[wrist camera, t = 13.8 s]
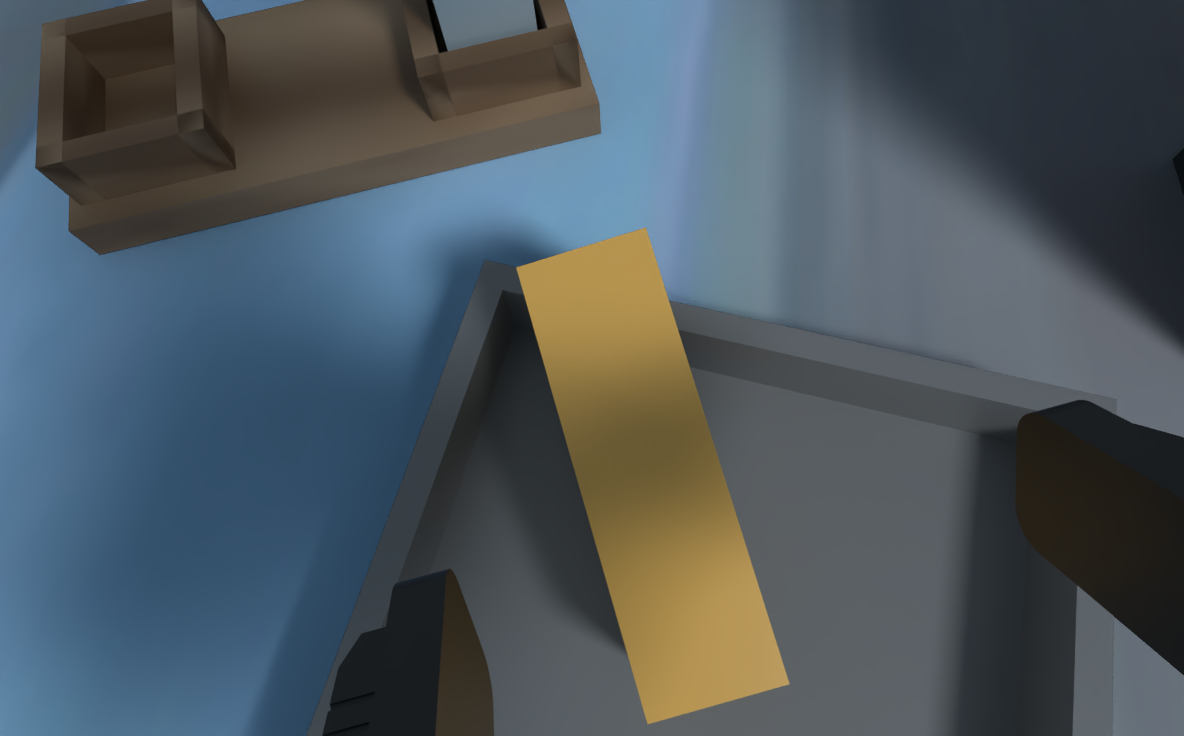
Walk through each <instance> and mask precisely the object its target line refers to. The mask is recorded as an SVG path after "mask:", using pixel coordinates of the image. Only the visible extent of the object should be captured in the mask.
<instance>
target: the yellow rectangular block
mask: <svg viewBox="0 0 1184 736" xmlns="http://www.w3.org/2000/svg"><path fill="white" fill-rule="evenodd" d="M516 268H517V272H518V275H519V279H520V282H521V286H522V289H523V293H524V296H525V300H526V303H527V307H528V310H529V314H530V317H531V321H532V324H533V328H534V331H535V335H536V338H537V341H538V345H539V348H540V352H541V355H542V359H543V362H544V366H545V369H546V373H547V376H548V380H549V383H550V387H551V390H552V394H553V397H554V401H555V404H556V408H557V411H558V414H559V418H560V421H561V425H562V428H563V432H564V435H565V439H566V442H567V446H568V449H569V453H570V456H571V460H572V463H573V467H574V470H575V474H576V477H577V481H578V484H579V488H580V491H581V494H582V498H583V501H584V505H585V508H586V512H587V515H588V519H589V522H590V526H591V529H592V533H593V536H594V540H595V543H596V547H597V550H598V554H599V557H600V561H601V564H602V567H603V571H604V574H605V578H606V581H607V585H608V588H609V592H610V595H611V599H612V602H613V606H614V609H615V613H616V616H617V620H618V623H619V627H620V630H621V634H622V637H623V641H624V644H625V647H626V651H627V654H628V658H629V661H630V665H631V668H632V672H633V675H634V679H635V682H636V686H637V689H638V693H639V696H640V700H641V703H642V707H643V710H644V714H645V717H646V720H647V724H651V723H654V722H658V721H661V720H665V719H668V718H672V717H675V716H679V715H682V714H686V713H690V712H693V711H697V710H700V709H704V708H707V707H711V706H714V705H718V704H721V703H725V702H728V701H732V700H736V699H739V698H743V697H746V696H750V695H753V694H757V693H760V692H764V691H767V690H771V689H774V688H778V687H782V686H785V685H789V681H788V677H787V674H786V671H785V668H784V665H783V662H782V658H781V655H780V652H779V649H778V646H777V643H776V639H775V636H774V633H773V630H772V627H771V623H770V620H769V617H768V614H767V611H766V608H765V604H764V601H763V598H762V595H761V592H760V589H759V585H758V582H757V579H756V576H755V573H754V569H753V566H752V563H751V560H750V557H749V554H748V550H747V547H746V544H745V541H744V538H743V535H742V531H741V528H740V525H739V522H738V519H737V515H736V512H735V509H734V506H733V503H732V500H731V496H730V493H729V490H728V487H727V484H726V481H725V477H724V474H723V471H722V468H721V465H720V461H719V458H718V455H717V452H716V449H715V446H714V442H713V439H712V436H711V433H710V430H709V427H708V423H707V420H706V417H705V414H704V411H703V408H702V404H701V401H700V398H699V395H698V392H697V388H696V385H695V382H694V379H693V376H692V373H691V369H690V366H689V363H688V360H687V357H686V354H685V350H684V347H683V344H682V341H681V338H680V334H679V331H678V328H677V325H676V322H675V319H674V315H673V312H672V309H671V306H670V303H669V300H668V296H667V293H666V290H665V287H664V284H663V280H662V277H661V274H660V271H659V268H658V265H657V261H656V258H655V255H654V252H653V249H652V246H651V242H650V239H649V236H648V233H647V230H646V228H643V229H640V230H636V231H633V232H630V233H627V234H623V235H620V236H617V237H614V238H610V239H607V240H604V241H601V242H597V243H594V244H591V245H588V246H584V247H581V248H578V249H575V250H571V251H568V252H565V253H562V254H558V255H555V256H552V257H549V258H545V259H542V260H539V261H536V262H532V263H529V264H526V265H523V266H519V267H516Z"/></svg>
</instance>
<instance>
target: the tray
mask: <svg viewBox="0 0 1184 736" xmlns="http://www.w3.org/2000/svg"><path fill="white" fill-rule="evenodd" d="M669 303H670V306H671V309H672V312H673V315H674V319H675V322H676V325H677V328H678V331H679V334H680V338H681V341H682V344H683V347H684V350H685V354H686V357H687V360H688V363H689V366H690V369H691V373H692V376H693V379H694V382H695V385H696V388H697V392H698V395H699V398H700V401H701V404H702V408H703V411H704V414H705V417H706V420H707V423H708V427H709V430H710V433H711V436H712V439H713V442H714V446H715V449H716V452H717V455H718V458H719V461H720V465H721V468H722V471H723V474H724V477H725V481H726V484H727V487H728V490H729V493H730V496H731V500H732V503H733V506H734V509H735V512H736V515H737V519H738V522H739V525H740V528H741V531H742V535H743V538H744V541H745V544H746V547H747V550H748V554H749V557H750V560H751V563H752V566H753V569H754V573H755V576H756V579H757V582H758V585H759V589H760V592H761V595H762V598H763V601H764V604H765V608H766V611H767V614H768V617H769V620H770V623H771V627H772V630H773V633H774V636H775V639H776V643H777V646H778V649H779V652H780V655H781V658H782V662H783V665H784V668H785V671H786V674H787V677H788V681H789V685H785V686H782V687H778V688H774V689H771V690H767V691H764V692H760V693H757V694H753V695H750V696H746V697H743V698H739V699H736V700H732V701H728V702H725V703H721V704H718V705H714V706H711V707H707V708H704V709H700V710H697V711H693V712H690V713H686V714H682V715H679V716H675V717H672V718H668V719H665V720H661V721H658V722H654V723H651V724H647V720H646V717H645V714H644V710H643V707H642V703H641V700H640V696H639V693H638V689H637V686H636V682H635V679H634V675H633V672H632V668H631V665H630V661H629V658H628V654H627V651H626V647H625V644H624V641H623V637H622V634H621V630H620V627H619V623H618V620H617V616H616V613H615V609H614V606H613V602H612V599H611V595H610V592H609V588H608V585H607V581H606V578H605V574H604V571H603V567H602V564H601V561H600V557H599V554H598V550H597V547H596V543H595V540H594V536H593V533H592V529H591V526H590V522H589V519H588V515H587V512H586V508H585V505H584V501H583V498H582V494H581V491H580V488H579V484H578V481H577V477H576V474H575V470H574V467H573V463H572V460H571V456H570V453H569V449H568V446H567V442H566V439H565V435H564V432H563V428H562V425H561V421H560V418H559V414H558V411H557V408H556V404H555V401H554V397H553V394H552V390H551V387H550V383H549V380H548V376H547V373H546V369H545V366H544V362H543V359H542V355H541V352H540V348H539V345H538V341H537V338H536V335H535V331H534V328H533V324H532V321H531V317H530V314H529V310H528V307H527V303H526V300H525V296H524V293H523V289H522V286H521V282H520V279H519V275H518V272H517V268H516V267H514V266H509V265H505V264H500V263H496V262H491V261H487V260H485V261H484V264H483V266H482V269H481V272H480V274H479V277H478V280H477V282H476V285H475V288H474V290H473V293H472V296H471V298H470V301H469V304H468V306H467V309H466V312H465V314H464V317H463V320H462V322H461V325H460V328H459V330H458V333H457V336H456V338H455V341H454V344H453V346H452V349H451V352H450V354H449V357H448V360H447V362H446V365H445V368H444V370H443V373H442V376H441V378H440V381H439V384H438V386H437V389H436V392H435V394H434V397H433V400H432V402H431V405H430V408H429V410H428V413H427V416H426V418H425V421H424V424H423V426H422V429H421V432H420V434H419V437H418V439H417V442H416V445H415V447H414V450H413V453H412V455H411V458H410V461H409V463H408V466H407V469H406V471H405V474H404V477H403V479H402V482H401V485H400V487H399V490H398V493H397V495H396V498H395V501H394V503H393V506H392V509H391V511H390V514H389V517H388V519H387V522H386V525H385V527H384V530H383V533H382V535H381V538H380V541H379V543H378V546H377V549H376V551H375V554H374V557H373V559H372V562H371V565H370V567H369V570H368V573H367V575H366V578H365V581H364V583H363V586H362V589H361V591H360V594H359V597H358V599H357V602H356V605H355V607H354V610H353V613H352V615H351V618H350V620H349V623H348V626H347V628H346V631H345V634H344V636H343V639H342V642H341V644H340V647H339V650H338V652H337V655H336V658H335V660H334V663H333V666H332V668H331V671H330V674H329V676H328V679H327V682H326V684H325V687H324V690H323V692H322V695H321V698H320V700H319V703H318V706H317V708H316V711H315V714H314V716H313V719H312V722H311V724H310V727H309V730H308V732H307V735H306V736H322V733H323V729H324V725H325V721H326V717H327V713H328V711H330V700H331V696H332V692H333V688H334V684H335V679H336V675H337V671H338V668H339V666H340V665H341V663H342V662H343V660H344V659H345V657H346V656H347V654H348V653H349V651H350V650H351V648H352V647H353V645H354V644H355V642H356V641H357V639H358V638H359V636H360V635H361V633H365V632H368V631H372V630H376V629H379V628H383V627H386V623H387V618H388V612H389V606H390V600H391V594H392V589H393V587H394V585H395V584H396V583H399V582H402V581H406V580H410V579H413V578H417V577H421V576H424V575H428V574H432V573H435V572H439V571H443V570H447V569H451V570H452V571H453V572H454V574H455V576H456V578H457V580H458V583H459V585H460V588H461V591H462V594H463V596H464V599H465V602H466V605H467V607H468V610H469V613H470V616H471V618H472V621H473V624H474V627H475V629H476V632H477V635H478V638H479V640H480V643H481V646H482V649H483V652H484V655H485V658H486V661H487V665H488V669H489V674H490V679H491V685H492V693H493V709H494V736H1112V721H1113V640H1114V616H1113V615H1112V614H1111V613H1109V612H1108V611H1107V610H1106V609H1105V608H1103V607H1102V606H1101V605H1100V604H1099V603H1098V602H1096V601H1095V600H1094V599H1093V598H1092V597H1090V596H1089V595H1088V594H1087V593H1086V592H1084V591H1083V590H1082V589H1081V588H1080V587H1079V586H1077V585H1076V584H1075V583H1074V582H1073V581H1071V580H1070V579H1069V578H1068V577H1067V576H1066V575H1064V574H1063V573H1062V572H1061V571H1060V570H1058V569H1057V568H1056V567H1055V566H1054V565H1052V564H1051V563H1050V562H1049V561H1048V560H1047V559H1045V558H1044V557H1043V556H1042V555H1041V554H1039V553H1038V552H1037V551H1036V550H1035V549H1034V548H1033V546H1032V545H1031V544H1030V543H1029V541H1028V540H1027V538H1026V537H1025V535H1024V533H1023V531H1022V529H1021V527H1020V525H1019V522H1018V519H1017V515H1016V506H1015V501H1016V447H1017V427H1018V423H1019V421H1020V419H1021V418H1022V417H1023V416H1024V415H1025V414H1028V413H1032V412H1035V411H1039V410H1043V409H1046V408H1050V407H1054V406H1057V405H1061V404H1065V403H1068V402H1072V401H1076V400H1087V401H1090V402H1092V403H1094V404H1096V405H1098V406H1100V407H1102V408H1104V409H1106V410H1108V411H1110V412H1111V413H1113V414H1115V415H1116V399H1113V398H1109V397H1104V396H1100V395H1095V394H1091V393H1086V392H1082V391H1077V390H1072V389H1068V388H1063V387H1059V386H1054V385H1050V384H1045V383H1041V382H1036V381H1032V380H1027V379H1023V378H1018V377H1013V376H1009V375H1004V374H1000V373H995V372H991V371H986V370H982V369H977V368H973V367H968V366H964V365H959V364H954V363H950V362H945V361H941V360H936V359H932V358H927V357H923V356H918V355H914V354H909V353H904V352H900V351H895V350H891V349H886V348H882V347H877V346H873V345H868V344H864V343H859V342H855V341H850V340H845V339H841V338H836V337H832V336H827V335H823V334H818V333H814V332H809V331H805V330H800V329H795V328H791V327H786V326H782V325H777V324H773V323H768V322H764V321H759V320H755V319H750V318H746V317H741V316H736V315H732V314H727V313H723V312H718V311H714V310H709V309H705V308H700V307H696V306H691V305H687V304H682V303H677V302H673V301H669Z"/></svg>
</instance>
